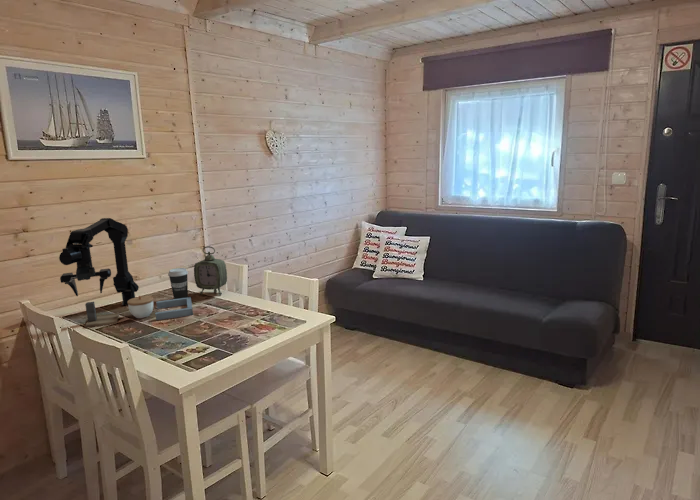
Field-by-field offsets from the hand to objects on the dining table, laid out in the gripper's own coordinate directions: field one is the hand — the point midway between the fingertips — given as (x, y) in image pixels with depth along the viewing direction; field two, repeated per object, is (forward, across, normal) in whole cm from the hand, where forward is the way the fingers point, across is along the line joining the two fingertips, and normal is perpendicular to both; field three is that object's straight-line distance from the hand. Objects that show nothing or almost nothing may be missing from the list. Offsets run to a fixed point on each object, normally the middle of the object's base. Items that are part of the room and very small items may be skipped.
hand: (89, 294), depth 205 cm
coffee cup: (+13, +37, +19) cm, 44 cm away
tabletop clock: (+13, +53, +21) cm, 58 cm away
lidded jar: (+13, +20, 0) cm, 24 cm away
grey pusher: (+13, +4, 0) cm, 14 cm away
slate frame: (+13, +34, 0) cm, 36 cm away
